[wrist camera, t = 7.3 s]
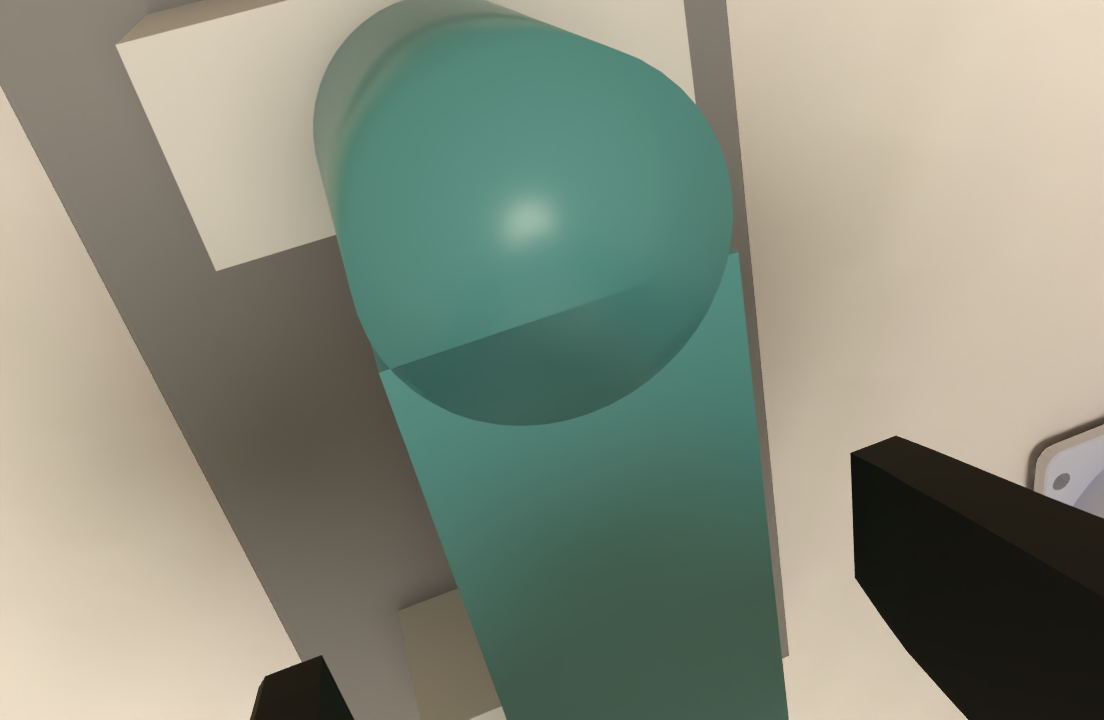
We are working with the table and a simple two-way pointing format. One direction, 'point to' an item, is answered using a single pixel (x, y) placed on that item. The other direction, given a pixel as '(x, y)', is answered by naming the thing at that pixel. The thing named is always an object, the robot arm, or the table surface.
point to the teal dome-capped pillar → (561, 355)
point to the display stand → (295, 296)
